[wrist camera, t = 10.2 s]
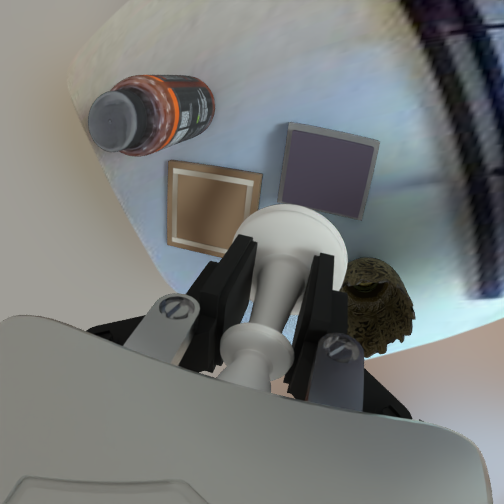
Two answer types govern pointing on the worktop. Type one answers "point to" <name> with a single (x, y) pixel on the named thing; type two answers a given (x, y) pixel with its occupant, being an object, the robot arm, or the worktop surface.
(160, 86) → the supplement bottle
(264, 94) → the worktop surface
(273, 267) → the chess piece
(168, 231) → the stamp board
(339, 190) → the ink pad
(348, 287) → the cup
